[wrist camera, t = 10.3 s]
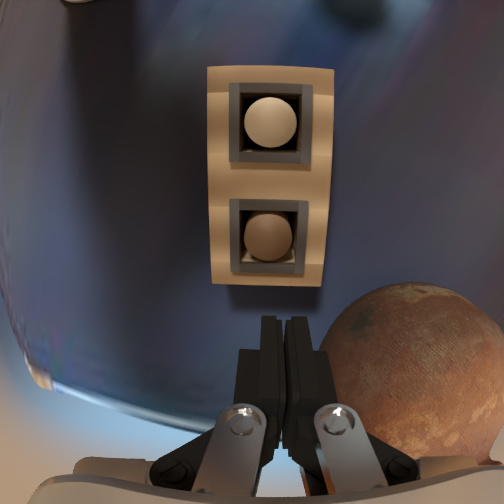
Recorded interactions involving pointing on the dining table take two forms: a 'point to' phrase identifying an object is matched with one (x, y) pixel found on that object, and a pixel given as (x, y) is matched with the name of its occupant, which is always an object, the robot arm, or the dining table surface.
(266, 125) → the maple peg
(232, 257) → the oak block
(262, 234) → the walnut peg
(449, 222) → the dining table surface
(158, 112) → the dining table surface
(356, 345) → the pottery
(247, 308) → the dining table surface
